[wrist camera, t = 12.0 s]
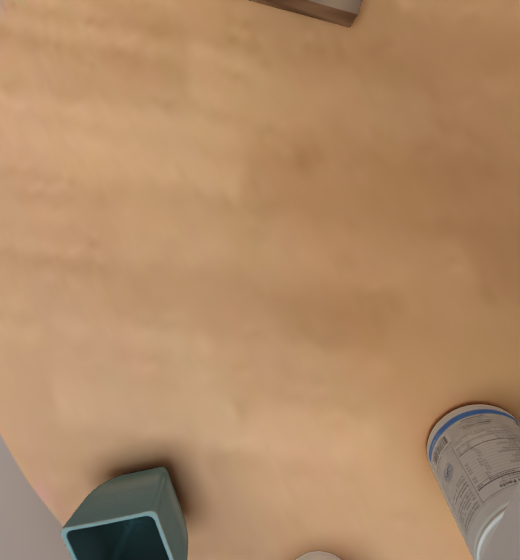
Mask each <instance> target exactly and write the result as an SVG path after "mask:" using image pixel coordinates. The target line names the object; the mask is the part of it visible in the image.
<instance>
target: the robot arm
mask: <svg viewBox="0 0 520 560" xmlns="http://www.w3.org/2000/svg"><path fill="white" fill-rule="evenodd" d="M481 560H520V481H519V483H518V485H517V487H516V489H515V492H514V494H513V496H512V498H511V500H510V502H509V504H508V506H507V508H506V510H505V512H504V514H503V516H502V518H501V520H500V522H499V524H498V527H497V529H496V531H495V533H494V535H493V537H492V539H491V541H490V543H489V545H488V547H487V549H486V551H485V553H484V555H483V557H482V559H481Z"/></svg>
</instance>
